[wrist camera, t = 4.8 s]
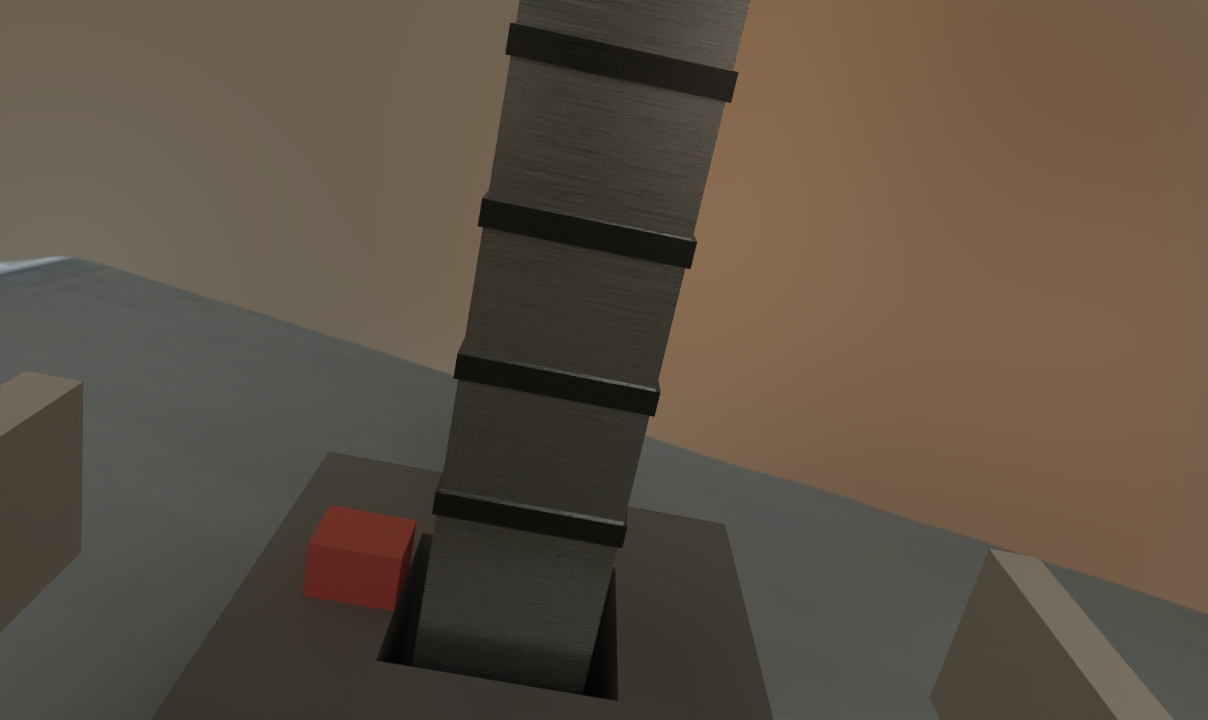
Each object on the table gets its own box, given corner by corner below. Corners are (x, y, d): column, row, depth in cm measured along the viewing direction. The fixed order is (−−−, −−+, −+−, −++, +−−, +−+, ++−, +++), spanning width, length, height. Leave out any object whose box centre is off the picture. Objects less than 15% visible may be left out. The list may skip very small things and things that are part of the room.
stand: (307, 642, 34) (333, 410, 30) (673, 704, 35) (735, 484, 31) (116, 1032, 20) (128, 693, 17) (715, 1114, 21) (831, 807, 18)
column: (411, 721, 29) (537, -41, 22) (554, 745, 29) (729, 2, 22) (376, 844, 25) (521, -62, 17) (546, 870, 25) (760, -7, 17)
